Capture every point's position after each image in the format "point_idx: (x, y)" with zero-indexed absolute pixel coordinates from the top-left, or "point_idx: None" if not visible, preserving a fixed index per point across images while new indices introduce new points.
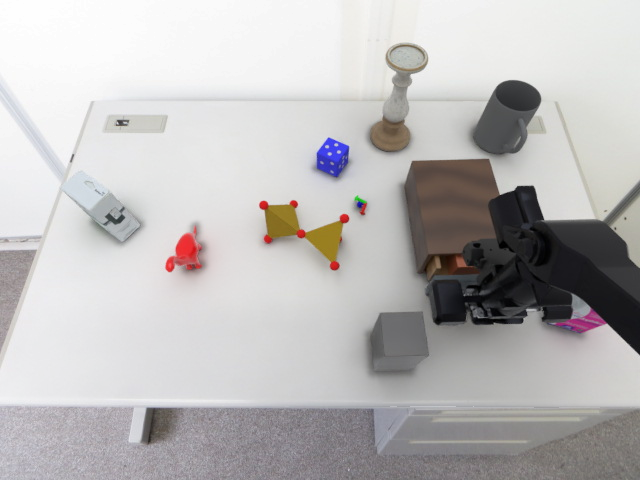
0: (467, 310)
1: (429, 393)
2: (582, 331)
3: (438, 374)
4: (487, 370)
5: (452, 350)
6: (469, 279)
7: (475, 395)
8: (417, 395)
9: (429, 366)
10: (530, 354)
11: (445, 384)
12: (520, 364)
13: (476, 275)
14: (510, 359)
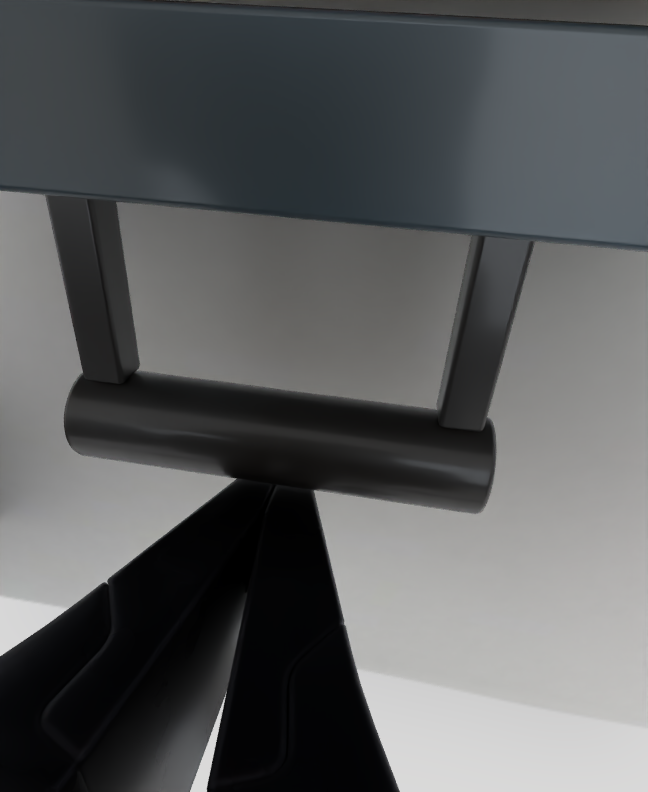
0: (161, 466)
1: None
2: None
3: (123, 553)
4: (355, 584)
5: (198, 483)
6: (57, 148)
7: None
8: (40, 593)
9: (82, 521)
10: (630, 574)
11: None
12: (539, 597)
13: (226, 46)
14: (498, 571)
